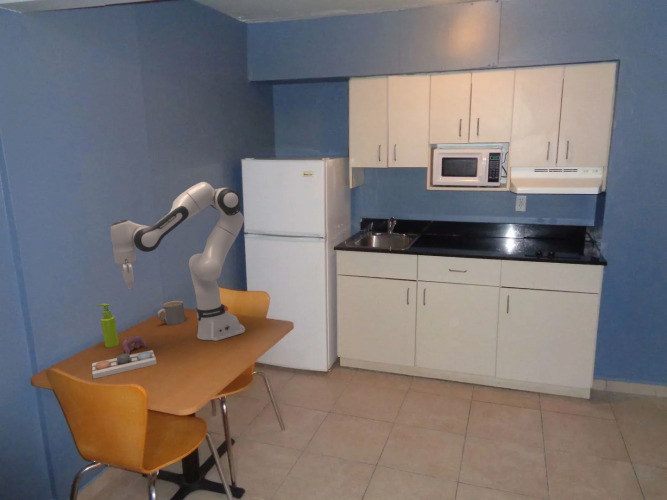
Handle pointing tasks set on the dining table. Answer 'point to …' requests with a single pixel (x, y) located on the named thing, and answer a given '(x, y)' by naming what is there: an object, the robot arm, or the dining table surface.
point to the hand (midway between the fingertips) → (129, 288)
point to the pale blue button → (144, 356)
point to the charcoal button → (123, 359)
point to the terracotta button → (102, 365)
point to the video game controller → (131, 340)
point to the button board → (124, 367)
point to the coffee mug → (172, 313)
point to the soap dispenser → (109, 327)
